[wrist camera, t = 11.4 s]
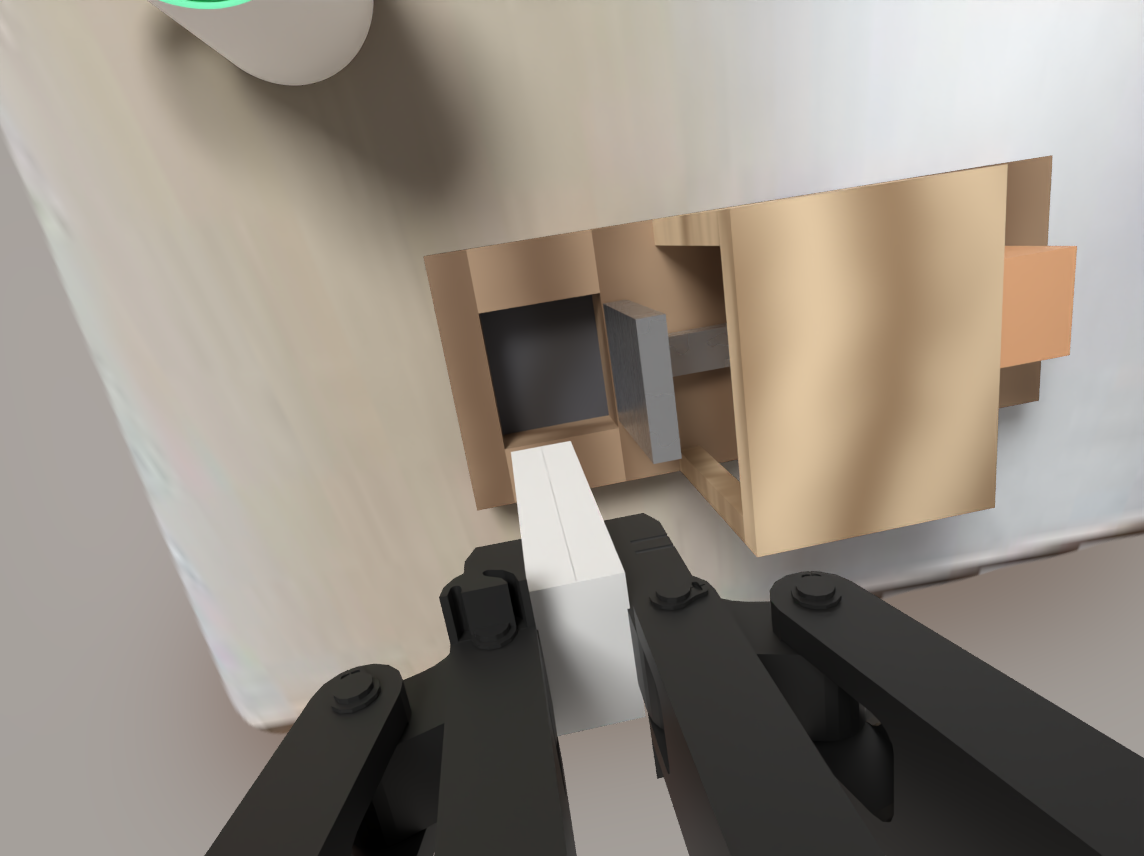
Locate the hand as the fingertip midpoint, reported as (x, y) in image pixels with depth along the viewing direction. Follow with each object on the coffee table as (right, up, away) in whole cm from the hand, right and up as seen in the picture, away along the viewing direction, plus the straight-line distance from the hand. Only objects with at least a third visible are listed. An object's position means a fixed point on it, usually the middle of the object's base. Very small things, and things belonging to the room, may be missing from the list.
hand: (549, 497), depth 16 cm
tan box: (+10, +6, +17) cm, 21 cm away
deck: (+10, +7, +20) cm, 24 cm away
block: (+21, +8, +18) cm, 29 cm away
